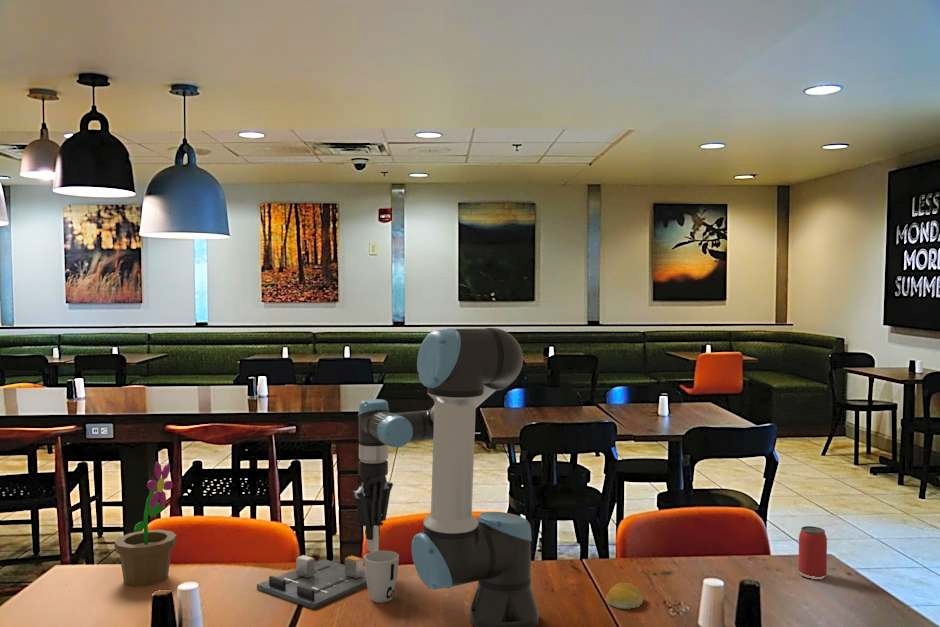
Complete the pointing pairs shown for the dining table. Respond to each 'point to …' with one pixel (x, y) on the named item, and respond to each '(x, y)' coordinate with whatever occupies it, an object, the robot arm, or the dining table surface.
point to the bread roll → (624, 596)
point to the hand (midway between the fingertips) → (372, 550)
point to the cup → (381, 574)
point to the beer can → (813, 551)
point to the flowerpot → (148, 539)
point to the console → (314, 585)
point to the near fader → (354, 566)
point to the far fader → (305, 566)
